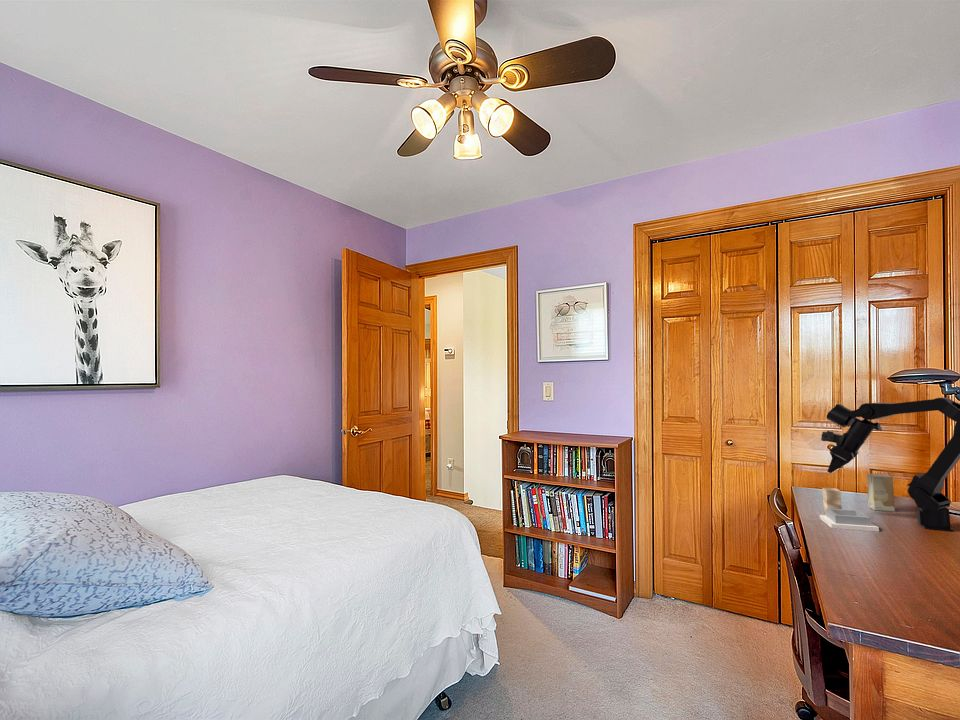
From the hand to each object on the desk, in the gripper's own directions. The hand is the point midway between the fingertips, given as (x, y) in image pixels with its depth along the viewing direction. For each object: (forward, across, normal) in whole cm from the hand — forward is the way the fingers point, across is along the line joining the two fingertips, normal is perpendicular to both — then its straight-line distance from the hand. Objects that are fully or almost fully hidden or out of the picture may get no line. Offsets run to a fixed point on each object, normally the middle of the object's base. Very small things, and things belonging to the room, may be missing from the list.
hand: (830, 470), depth 166 cm
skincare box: (+5, -12, +18) cm, 22 cm away
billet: (+12, +8, +8) cm, 16 cm away
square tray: (+9, +18, +12) cm, 24 cm away
